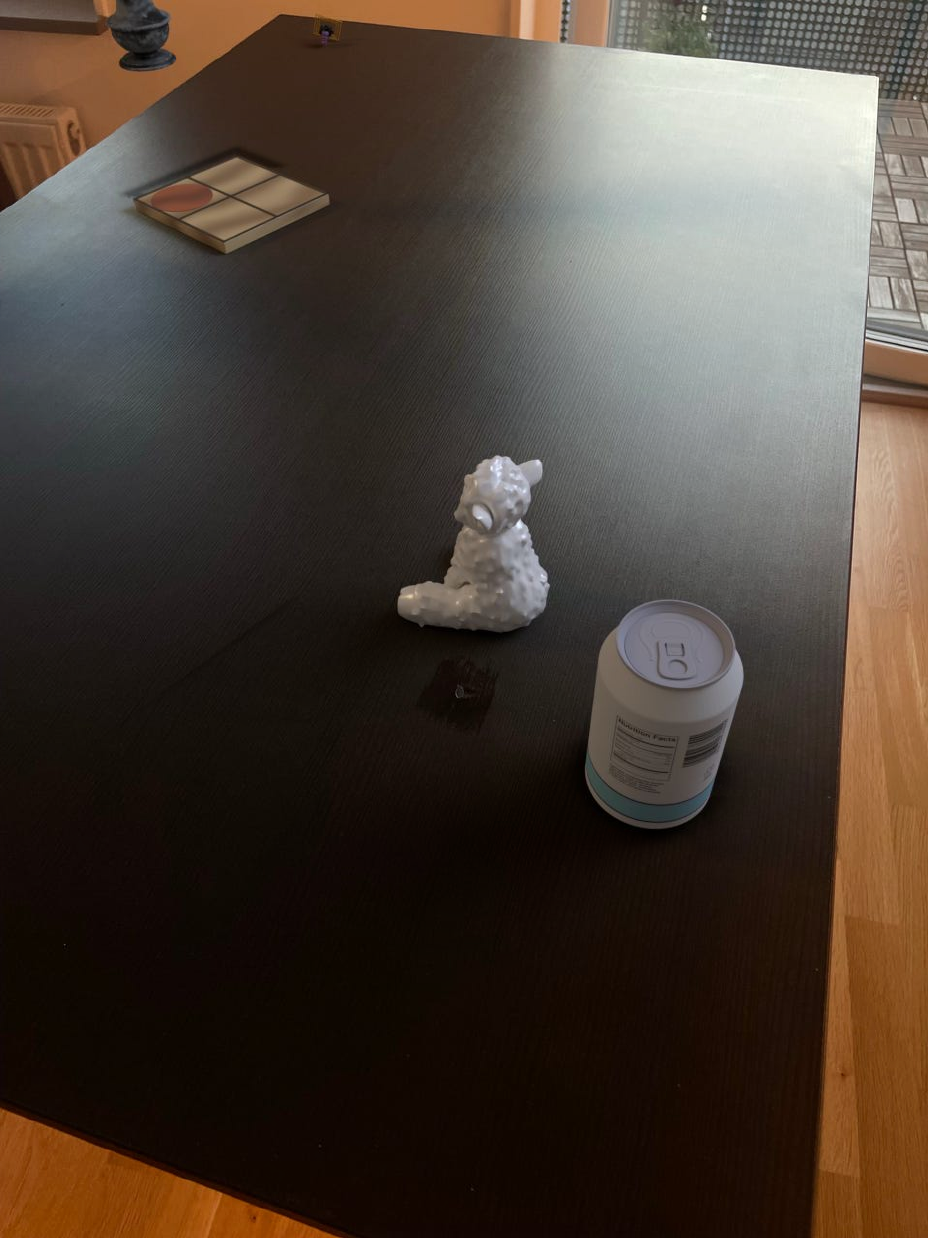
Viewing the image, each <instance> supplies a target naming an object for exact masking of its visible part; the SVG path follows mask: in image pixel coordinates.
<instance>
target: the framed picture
mask: <svg viewBox="0 0 928 1238" xmlns="http://www.w3.org/2000/svg"><path fill="white" fill-rule="evenodd" d="M314 16H315V17H314V25H313V30H312V31H313V32H312V33H313V34H314V35H317V36H320V37H321V39H320V43H321V45H324V46H326V45H327V44H328V42H329V41H328V40H329V39H331V40H334V41H337V42H339V41H340V35H341V28H342V23H343V21H342V20H339V19H336V18H332V17H329V16H325V15H322V14H318V13H315V15H314ZM321 21H325V22H329V23H332V24H335V27H337V28H335V31H334V30H333V26H330V25H329V24H325V25H323V24H320V23H321ZM335 34H336V35H335Z"/></svg>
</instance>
